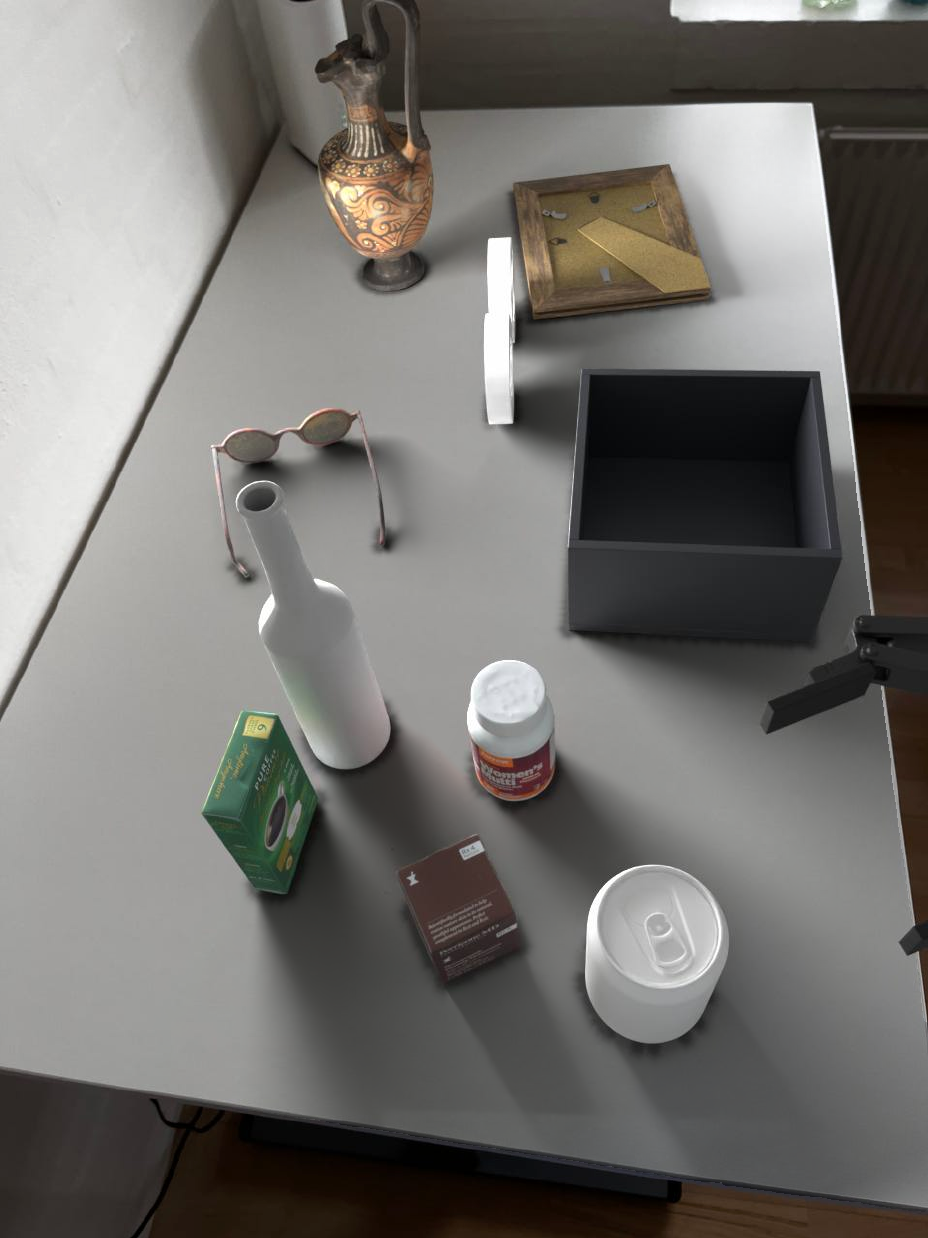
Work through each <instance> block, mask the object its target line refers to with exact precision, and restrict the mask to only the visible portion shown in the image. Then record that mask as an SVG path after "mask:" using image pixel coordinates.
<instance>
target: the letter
mask: <svg viewBox="0 0 928 1238" xmlns="http://www.w3.org/2000/svg"><path fill="white" fill-rule="evenodd" d="M514 262H515V261H514V251H513V238H512V237H507V236H506V237H491V238H488V241H487V298H488V301H487V302H488V313H485V316H484V330H483V338H484V339H483V361H484V363H483V364H484V367H483V368H484V388H485V389H484V390H485V402H486V403H485V405H486V414H487V421H488V424H489V425H513V424H514V417H515V371H514V368H515V367H514V366H515V365H514V344H515V342H516V287H515V286H516V285H515V282H516V281H515V263H514Z"/></svg>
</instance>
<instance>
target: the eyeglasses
mask: <svg viewBox="0 0 928 1238" xmlns="http://www.w3.org/2000/svg"><path fill="white" fill-rule="evenodd" d="M355 420H358V424H359V428H360V431H361V435H362V440H363V442H364V443H363V444H364V446H365V450H366V453H367V457H368V458H367V459H368V462H369V466H370V469H371V473H372V476H373V481H374V483H375V488H376V489H375V490H376V495H377V502H378V510H379V524H380V534H379V545H380V546H384V545H385V539H386V520H385V511H384V510H385V509H384V501H383V495H382V489H381V486H380V481H379V477H378V473H377V470H376V466H375V462H374V458H373V455H372V451H371V447H370V444H369V439H368V436H367V432H366V428H365V424H364V420H363V417H362V413H361V410H359V409H357V410H355V411H352V412H348V411H346V410H345V409H343V408H338V407H328V408H323V409H320V410H317V411H314V412H313V413H311V414H310V415H308V416H307V417H306V418H305V419H304V420H303V422H302V423H301V424H300V426H298V427H286V428H282V429H280V430H278V431H277V432H275V433H271V432H269V431H266V430H264V429H261V428H256V427H249V428H248V427H246V428H240V429H237V430H234V431H233V432H231V433H229V434H228V435H227V436H226V437H225V439H224V440H223V442H222V443H219V444H217V443H216V444H212V445H211V446H210V447H211V451H212V459H213V464H214V473H215V480H216V487H217V494H218V500H219V507H220V515H221V520H222V527H223V532H224V536H225V541H226V545H227V549H228V552H229V555H230V558H231V561H232V563H233V565H234V566H235V567H236V569H238V571H239V572H240V573H241V574H242V575H243V576H244V577H245V579H246V578H248V577H249V576H250V573H249V572H248V571H247V570H246V569H245V568H244V567H243V565H242V564H241V563H240V561H238V560H237V558H236V556H235V551H234V547H233V543H232V539H231V535H230V531H229V524H228V517H227V511H226V503H225V497H224V488H223V482H222V474H221V467H220V461H219V454H218V453H222V454H225V456H227V457H228V458H229V459H231V460H233V461H235V462H238V463H243V464H257V463H261V462H265V461H268V460H270V459H271V458H272V457H274V455H275V454H276V453H277V452H278V450H279V448H280V442H281V438H282V437H283V436H284V435H285V434H288V433H292V434H294V435H295V436H297V437H298V438H299V439H300V440H301V441H302V443H305V444H307V445H311V446H326V445H330V444H332V443H335V442H338V441H339V440H341V439H342V438H344V437H345V436H346V435H347V434H348V433H349V431H351V428H352V424H353V422H355Z"/></svg>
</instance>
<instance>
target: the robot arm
mask: <svg viewBox="0 0 928 1238" xmlns="http://www.w3.org/2000/svg"><path fill="white" fill-rule="evenodd" d="M844 647H845V649H846V650H847V651H848V652H849V653H847V654H845V655H842V656H839V657H837V658H834V659H832V660H830V661H827V662H824V663H821V664H819V665H817V666H814V667H813V668H812V669H811V670H810V671H809V672H808V674H807V676H806V678H805V682H804V686H803V687H801V688H798V689H795V690H793V691H790V692H787V693H785V694H783V695H780V696H776V697H775V698H772V699H770V700H768V701H766V703H765V706H764V709H763V712H762V715H761V718H760V721H759V726H760V728H761V729H762V730H763V732H764V734H765V735H769V734H772V733H774V732H777V731H779V730H782V729H784V728H786V727H789V726H792V725H795V724H797V723H800V722H801V721H804V720H807V719H809V718H812V717H815V716H817V715H819V714H822V713H825V712H827V711H830V710H832V709H835V708H837V707H840V706H842V705H845V704H847V703H850V702H852V701H855V700H857V699H859V698H863V697H864V696H866V694H867V692H868V690H869V687H870V685H871V684H873V685H876V686H880V687H881V686H882V687H885V688H889V689H895V690H899V691H903V692H907V693H910V694H915V695H920V696H924V697H928V616H908V615H907V616H905V615H904V616H903V615H874V614H873V615H871V614H870V615H869V614H862V615H858V616H856V617H855V618H854V620H853V622H852V625H851V627H850V629H849V632H848V634H847V637H846V639H845V641H844ZM898 944H899V945H900V947H901V949H902V950H903V952H904V953H905V955H906V957H909V956H911V955H913V954H915V953H918V952H920V951H923V950H926V949H927V948H928V919H927V920H924V921H922V922H920V923H917V924H915V925H913V926H912V927H911V928H910V929H909V930H908V931H907V932H906V934H904V935H903V937H902V938H901V939H900V940H899V941H898Z"/></svg>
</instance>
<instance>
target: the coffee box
mask: <svg viewBox="0 0 928 1238" xmlns="http://www.w3.org/2000/svg"><path fill="white" fill-rule="evenodd" d="M318 801H319V797H318V795H317V792H316V790H315V787H314V785H313V784H312V782H311V780H310V779H309V776H308V774H307V772H306V770H305V768H304V766H303V764H302V761H301V760H300V757H299V756H298V753H297V751H296V749H295V747H294V745H293V743H292V741H291V739H290V736H289V735H288V732H287V731H286V728H285V726H284V724H283V722H282V720H281V718H280V716H279V714H278V713H274V712H265V711H254V710H252V711H251V710H244V709H242V710H241V711H240V714H239V716H238V719H237V721H236V723H235V726H234V729H233V731H232V734H231V737H230V740H229V742H228V744H227V746H226V749H225V752H224V754H223V756H222V759H221V761H220V765H219V767H218V769H217V772H216V774H215V777H214V779H213V781H212V784H211V787H210V789H209V792H208V794H207V797H206V800H205V802H204V805H203V807H202V809H201V812H200V813H201V816H202V817H203V818H204V819H205V821H206V822H207V824H208V825H209V827H210V828H211V830H213V832H214V833H215V835H216V836H217V838H218V839H219V841H220V842H221V843H222V845H223V846H224V848H225V849H226V850H227V852H228V853H229V854H230V856H231V857H232V858H233V860H234V861H235V863H236V864H237V866H238V867H239V869H240V870H241V872H242V873H243V875H244V876H245V877H246V878H247V880H248V881H249V882H250V884H251V885H252V887H253V888H254V889H255V890H260V891H264V892H268V893H269V892H270V893H274V894H280V895H284V894H285V895H287V894H288V893H289V890H290V886H291V884H292V881H293V878H294V875H295V873H296V870H297V867H298V862H299V859H300V856H301V853H302V850H303V847H304V844H305V840H306V837H307V834H308V831H309V828H310V825H311V822H312V819H313V817H314V813H315V810H316V807H317V804H318Z"/></svg>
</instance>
